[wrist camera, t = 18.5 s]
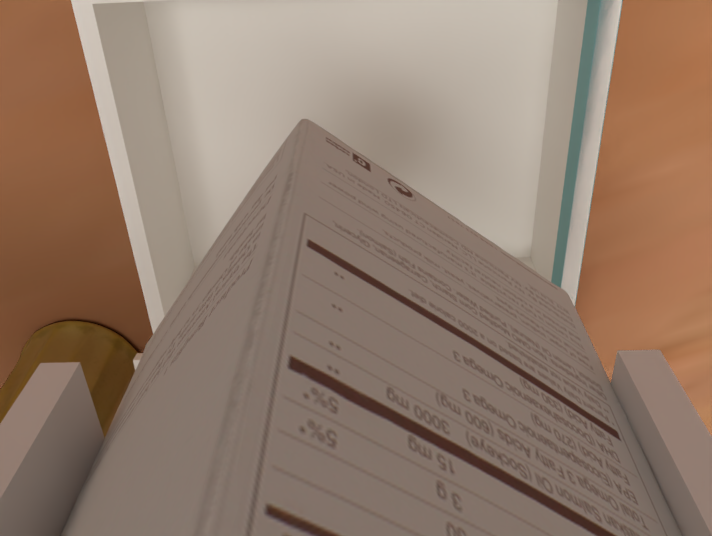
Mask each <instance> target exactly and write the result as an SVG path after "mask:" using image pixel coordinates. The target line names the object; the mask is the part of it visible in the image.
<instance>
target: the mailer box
mask: <svg viewBox="0 0 712 536" xmlns="http://www.w3.org/2000/svg"><path fill="white" fill-rule="evenodd" d="M71 2H72V6H73V11H74V15H75V19H76V23H77V27H78V31H79V35H80V39H81V43H82V47H83V51H84V55H85V59H86V63H87V67H88V71H89V75H90V80H91V84H92V88H93V92H94V96H95V100H96V104H97V108H98V112H99V116H100V120H101V124H102V128H103V132H104V136H105V140H106V145H107V149H108V153H109V157H110V161H111V165H112V169H113V173H114V177H115V181H116V185H117V189H118V193H119V197H120V201H121V205H122V210H123V214H124V218H125V222H126V226H127V230H128V234H129V238H130V242H131V246H132V250H133V254H134V258H135V262H136V266H137V270H138V274H139V279H140V283H141V287H142V291H143V295H144V299H145V303H146V307H147V311H148V315H149V319H150V323H151V327H152V331H153V334H154V332H155V331H156V329H157V328H158V326H159V324H160V323H161V321H162V320H163V318H164V317H165V315H166V314H167V312H168V311H169V309H170V308H171V306H172V305H173V303H174V302H175V300H176V299H177V297H178V296H179V294H180V293H181V291H182V290H183V288H184V287H185V285H186V284H187V282H188V281H189V279H190V278H191V276H192V275H193V273H194V272H195V270H196V269H197V267H198V266H199V264H200V263H201V261H202V260H203V258H204V257H205V255H206V254H207V252H208V251H209V249H210V248H211V246H212V245H213V243H214V242H215V240H216V239H217V237H218V236H219V234H220V233H221V231H222V230H223V228H224V227H225V225H226V224H227V223H228V221H229V220H230V218H231V217H232V215H233V214H234V212H235V211H236V209H237V208H238V206H239V205H240V204H241V202H242V201H243V199H244V198H245V196H246V195H247V193H248V192H249V190H250V189H251V188H252V186H253V185H254V183H255V182H256V180H257V179H258V177H259V176H260V174H261V173H262V172H263V170H264V169H265V167H266V166H267V165H268V163H269V162H270V160H271V159H272V158H273V156H274V155H275V153H276V152H277V151H278V149H279V148H280V147H281V145H282V144H283V142H284V141H285V140H286V138H287V137H288V136H289V134H290V133H291V132H292V130H293V129H294V128H295V126H296V125H297V124H298V122H299V121H300V120H301V119H308V120H310V121H312V122H314V123H315V124H317V125H318V126H320V127H322V128H323V129H325V130H326V131H328V132H329V133H331V134H332V135H334V136H335V137H337V138H338V139H340V140H341V141H342V142H344V143H345V144H347V145H348V146H350V147H351V148H352V149H354V150H356V151H357V152H359V153H361V154H362V155H364V156H365V157H367V158H368V159H370V160H371V161H372V162H374V163H375V164H377V165H379V166H380V167H382V168H383V169H385V170H386V171H388V172H389V173H391V174H392V175H393V176H395V177H397V178H398V179H400V180H401V181H403V182H404V183H405V184H407V185H408V186H410V187H411V188H413V189H414V190H416V191H417V192H419V193H420V194H422V195H423V196H425V197H426V198H428V199H429V200H431V201H432V202H434V203H435V204H436V205H438V206H439V207H441V208H442V209H444V210H445V211H447V212H448V213H450V214H451V215H453V216H455V217H456V218H458V219H459V220H460V221H461V222H463V223H464V224H465V225H467V226H469V227H471V228H472V229H473V230H475V231H476V232H478V233H479V234H481V235H482V236H484V237H485V238H487V239H488V240H490V241H492V242H493V243H495V244H496V245H497V246H499V247H500V248H501V249H503V250H504V251H506V252H507V253H509V254H511V255H512V256H514V257H515V258H517V259H518V260H520V261H521V262H523V263H524V264H525V265H527V266H528V267H530V268H531V269H533V270H534V271H536V272H537V273H538V274H540V275H541V276H543V277H544V278H546V279H547V280H549V281H550V282H552V283H553V284H555V285H557V286H558V287H560V288H562V289H563V290H565V291H566V292H567V294H568V295H569V297H570V299H571V301H572V303H573V304H574V306H575V304H576V298H577V291H578V285H579V278H580V272H581V265H582V259H583V253H584V246H585V240H586V233H587V227H588V221H589V214H590V208H591V201H592V195H593V188H594V182H595V176H596V169H597V163H598V156H599V150H600V143H601V137H602V131H603V124H604V118H605V111H606V105H607V98H608V92H609V86H610V79H611V73H612V66H613V60H614V53H615V47H616V41H617V34H618V28H619V21H620V15H621V8H622V2H623V0H71Z"/></svg>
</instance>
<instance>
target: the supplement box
mask: <svg viewBox="0 0 712 536" xmlns="http://www.w3.org/2000/svg"><path fill="white" fill-rule="evenodd" d="M60 536H682V533H681V531H680V529H679V527H678V525H677V523H676V521H675V519H674V517H673V515H672V513H671V511H670V509H669V507H668V505H667V503H666V501H665V499H664V496H663V494H662V492H661V490H660V488H659V486H658V483H657V481H656V479H655V477H654V475H653V472H652V470H651V468H650V466H649V463H648V461H647V459H646V457H645V455H644V453H643V451H642V449H641V446H640V444H639V442H638V440H637V438H636V436H635V434H634V432H633V430H632V427H631V425H630V423H629V421H628V418H627V416H626V414H625V412H624V411H623V409H622V407H621V405H620V403H619V400H618V398H617V396H616V394H615V391H614V389H613V387H612V385H611V383H610V381H609V379H608V377H607V374H606V372H605V370H604V368H603V366H602V364H601V362H600V359H599V357H598V355H597V353H596V351H595V349H594V347H593V344H592V342H591V340H590V338H589V336H588V334H587V332H586V329H585V327H584V325H583V323H582V321H581V319H580V317H579V315H578V313H577V310H576V308H575V306H574V304H573V303H572V301H571V299H570V297H569V295H568V294H567V292H566V291H565V290H563V289H562V288H560V287H558V286H557V285H555V284H553V283H552V282H550V281H549V280H547V279H546V278H544V277H543V276H541V275H540V274H538V273H537V272H536V271H534V270H533V269H531V268H530V267H528V266H527V265H525V264H524V263H523V262H521V261H520V260H518V259H517V258H515V257H514V256H512V255H511V254H509V253H507V252H506V251H504V250H503V249H501V248H500V247H499V246H497V245H496V244H495V243H493V242H492V241H490V240H488V239H487V238H485V237H484V236H482V235H481V234H479V233H478V232H476V231H475V230H473V229H472V228H471V227H469V226H467V225H465V224H464V223H463V222H461V221H460V220H459V219H458V218H456V217H455V216H453V215H451V214H450V213H448V212H447V211H445V210H444V209H442V208H441V207H439V206H438V205H436V204H435V203H434V202H432V201H431V200H429V199H428V198H426V197H425V196H423V195H422V194H420V193H419V192H417V191H416V190H414V189H413V188H411V187H410V186H408V185H407V184H405V183H404V182H403V181H401V180H400V179H398V178H397V177H395V176H393V175H392V174H391V173H389V172H388V171H386V170H385V169H383V168H382V167H380V166H379V165H377V164H375V163H374V162H372V161H371V160H370V159H368V158H367V157H365V156H364V155H362V154H361V153H359V152H357V151H356V150H354V149H352V148H351V147H350V146H348V145H347V144H345V143H344V142H342V141H341V140H340V139H338V138H337V137H335V136H334V135H332V134H331V133H329V132H328V131H326V130H325V129H323V128H322V127H320V126H318V125H317V124H315V123H314V122H312V121H310V120H308V119H301V120H300V121H299V122H298V124H297V125H296V126H295V128H294V129H293V130H292V132H291V133H290V134H289V136H288V137H287V138H286V140H285V141H284V142H283V144H282V145H281V147H280V148H279V149H278V151H277V152H276V153H275V155H274V156H273V158H272V159H271V160H270V162H269V163H268V165H267V166H266V167H265V169H264V170H263V172H262V173H261V174H260V176H259V177H258V179H257V180H256V182H255V183H254V185H253V186H252V188H251V189H250V190H249V192H248V193H247V195H246V196H245V198H244V199H243V201H242V202H241V204H240V205H239V206H238V208H237V209H236V211H235V212H234V214H233V215H232V217H231V218H230V220H229V221H228V223H227V224H226V225H225V227H224V228H223V230H222V231H221V233H220V234H219V236H218V237H217V239H216V240H215V242H214V243H213V245H212V246H211V248H210V249H209V251H208V252H207V254H206V255H205V257H204V258H203V260H202V261H201V263H200V264H199V266H198V267H197V269H196V270H195V272H194V273H193V275H192V276H191V278H190V279H189V281H188V282H187V284H186V285H185V287H184V288H183V290H182V291H181V293H180V294H179V296H178V297H177V299H176V300H175V302H174V303H173V305H172V306H171V308H170V309H169V311H168V312H167V314H166V315H165V317H164V318H163V320H162V321H161V323H160V324H159V326H158V328H157V329H156V331H155V332H154V334H153V335H152V337H151V338H150V340H149V341H148V343H147V344H146V346H145V349H144V352H143V354H142V357H141V359H140V361H139V363H138V366H137V368H136V370H135V372H134V375H133V377H132V379H131V381H130V384H129V386H128V388H127V390H126V392H125V394H124V396H123V398H122V401H121V403H120V405H119V407H118V409H117V412H116V414H115V416H114V418H113V421H112V423H111V425H110V427H109V430H108V432H107V434H106V436H105V439H104V441H103V443H102V445H101V448H100V450H99V452H98V454H97V457H96V459H95V461H94V463H93V465H92V468H91V470H90V472H89V474H88V476H87V478H86V481H85V483H84V485H83V487H82V489H81V491H80V493H79V496H78V498H77V500H76V502H75V504H74V506H73V508H72V511H71V513H70V515H69V517H68V519H67V521H66V524H65V526H64V528H63V530H62V533H61V535H60Z"/></svg>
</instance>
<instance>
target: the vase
mask: <svg viewBox="0 0 712 536" xmlns="http://www.w3.org/2000/svg"><path fill="white" fill-rule="evenodd" d="M137 353H138V352H137V351H136V350H135V349H134V348H133V347H132V346H131V345H130V344H129V343H128V342H127V341H126V340H125V339H124V338H123V337H121V336H120V335H119V334H117V333H115V332H113V331H111V330H109V329H107V328H105V327H102V326H100V325H97V324H93V323H89V322H82V321H63V322H58V323H54V324H51V325H48V326H46V327H43V328H41V329H40V330H38V331H36V332H35V333H34V334H33V335H32V336H31V337H30V339H29V340H28V341H27V343H26V345H25V346H24V348H23V350H22V353H21V355H20V358H19V360H18V362H17V364H16V366H15V368H14V369H13V371H12V372H11V374H10V375H9V377H8V378H7V380H6V382H5V383H4V385H3V386H2V388H1V389H0V423H1V422H2V420H3V419H4V417H5V416H6V414H7V413H8V411H9V410H10V408H11V407H12V405H13V404H14V402H15V401H16V399H17V398H18V396H19V395H20V393H21V392H22V390H23V388H24V387H25V385H26V384H27V382H28V381H29V379H30V378H31V376H32V375H33V373H34V372H35V370H36V369H37V367H38V366H39V364H40V363H65V362H80V364H81V367H82V370H83V373H84V376H85V379H86V382H87V385H88V388H89V392H90V395H91V398H92V401H93V404H94V407H95V410H96V413H97V416H98V419H99V422H100V425H101V428H102V432H103V435H104V438H105V436H106V434H107V432H108V430H109V427H110V425H111V423H112V421H113V418H114V416H115V414H116V412H117V409H118V407H119V405H120V403H121V401H122V398H123V396H124V394H125V392H126V390H127V388H128V386H129V384H130V381H131V379H132V377H133V375H134V372H135V368H134V363H133V359H134V357H135V356H136V354H137Z"/></svg>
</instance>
